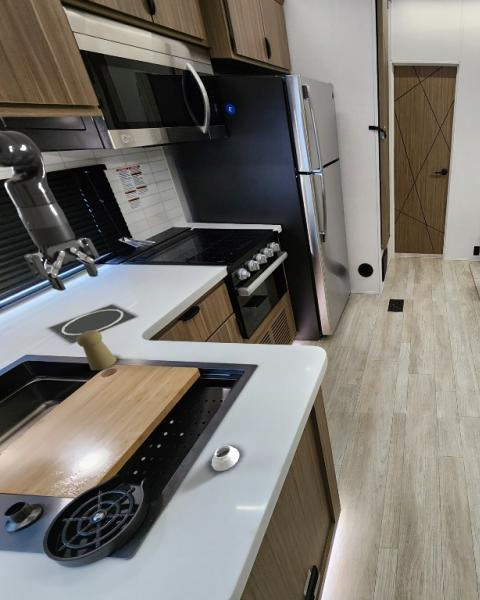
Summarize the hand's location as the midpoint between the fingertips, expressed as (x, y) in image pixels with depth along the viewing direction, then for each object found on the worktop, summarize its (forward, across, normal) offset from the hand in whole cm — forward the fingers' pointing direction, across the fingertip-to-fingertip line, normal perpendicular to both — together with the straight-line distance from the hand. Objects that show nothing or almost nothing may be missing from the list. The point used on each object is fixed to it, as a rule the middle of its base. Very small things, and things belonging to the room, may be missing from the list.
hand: (78, 282), depth 88 cm
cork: (+24, +4, +1) cm, 25 cm away
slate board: (+24, -14, -25) cm, 37 cm away
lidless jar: (+24, +26, +55) cm, 66 cm away
